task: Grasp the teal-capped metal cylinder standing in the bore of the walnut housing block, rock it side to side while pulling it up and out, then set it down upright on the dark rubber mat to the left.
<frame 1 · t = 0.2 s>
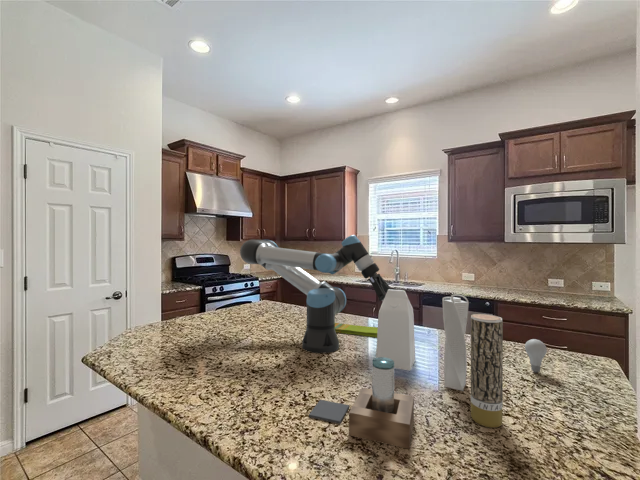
hand: (396, 309, 131), 15 cm above the countertop, tool tilted 35°, fingers open, 13 cm apart
mat: (329, 412, 79), on the countertop
lightbulb: (535, 372, 105), on the countertop
dish towel: (354, 332, 154), on the countertop
teal-capped metal cylinder: (383, 393, 73), in the housing
skyscraper: (455, 386, 94), on the countertop
milk: (395, 362, 113), on the countertop
housing: (382, 425, 73), on the countertop
bark-print cylinder: (486, 421, 75), on the countertop
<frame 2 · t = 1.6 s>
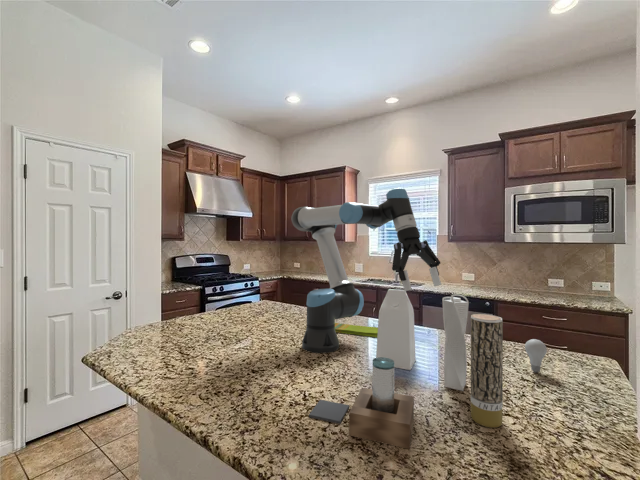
hand: (423, 288, 106), 28 cm above the countertop, tool tilted 20°, fingers open, 13 cm apart
nothing on the countertop moved.
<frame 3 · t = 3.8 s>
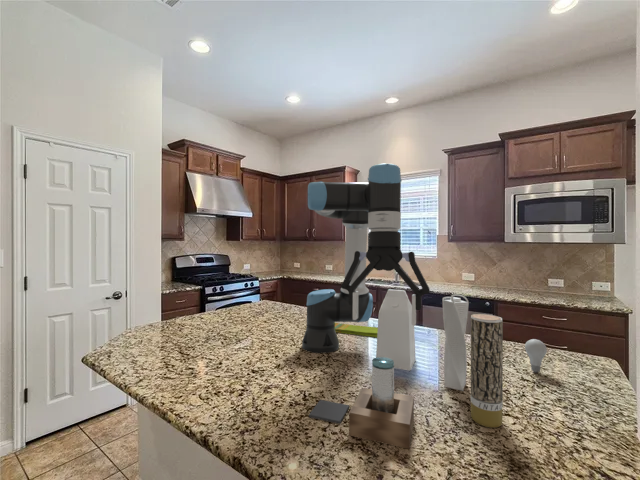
hand: (383, 321, 73), 24 cm above the countertop, tool pointing down, fingers open, 13 cm apart
nothing on the countertop moved.
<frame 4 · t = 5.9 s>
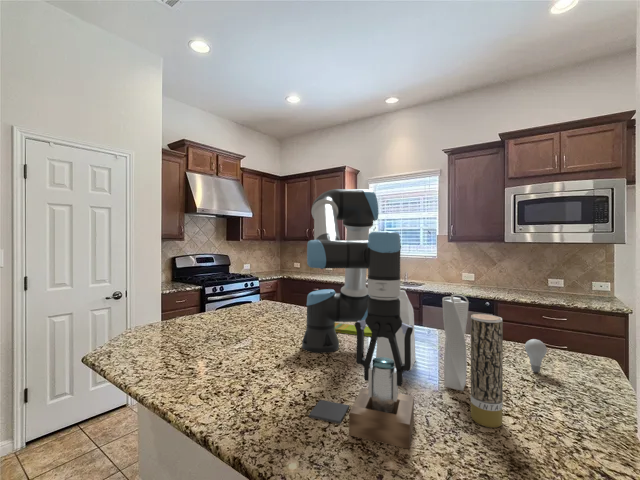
hand: (383, 396, 73), 7 cm above the countertop, tool pointing down, fingers closed on teal-capped metal cylinder, 5 cm apart
teal-capped metal cylinder: (383, 393, 73), in the housing, touching gripper
everything else where it was.
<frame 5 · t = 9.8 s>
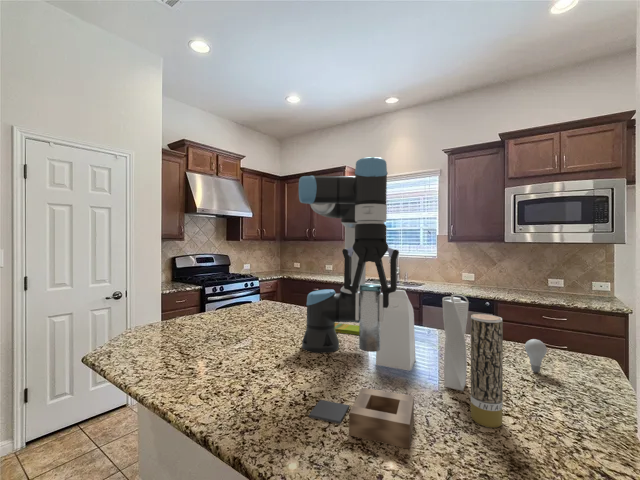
hand: (369, 319, 75), 24 cm above the countertop, tool pointing down, fingers closed on teal-capped metal cylinder, 5 cm apart
teal-capped metal cylinder: (370, 316, 75), point 25 cm above the countertop, touching gripper
everything else where it was.
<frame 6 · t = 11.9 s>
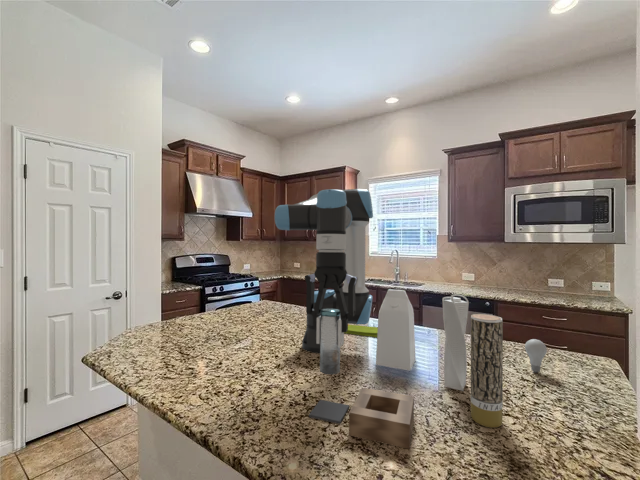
hand: (330, 343, 79), 17 cm above the countertop, tool pointing down, fingers closed on teal-capped metal cylinder, 5 cm apart
teal-capped metal cylinder: (330, 340, 79), point 18 cm above the countertop, touching gripper
everything else where it was.
when the fingers open (9 cm above the countertop, at t = 13.6 s): teal-capped metal cylinder drops 2 cm, resting on mat.
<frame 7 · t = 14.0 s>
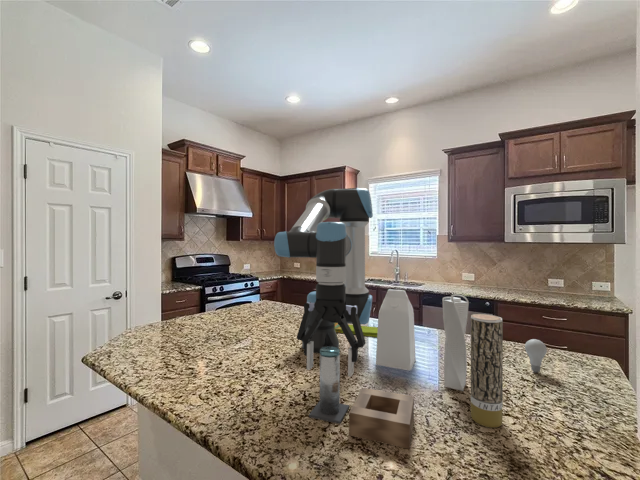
hand: (330, 371, 79), 10 cm above the countertop, tool pointing down, fingers open, 10 cm apart
teal-capped metal cylinder: (329, 379, 79), on the mat, point 8 cm above the countertop
everything else where it was.
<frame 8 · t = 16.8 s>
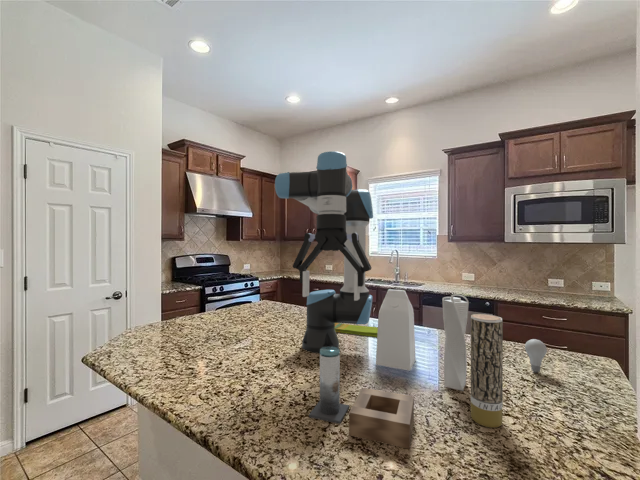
hand: (330, 298, 79), 29 cm above the countertop, tool pointing down, fingers open, 13 cm apart
nothing on the countertop moved.
at the end: teal-capped metal cylinder inside the target area on the mat (0.0 cm from its centre), point 8.1 cm above the mat's base; teal-capped metal cylinder tilted 0°; the gripper is holding nothing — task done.
